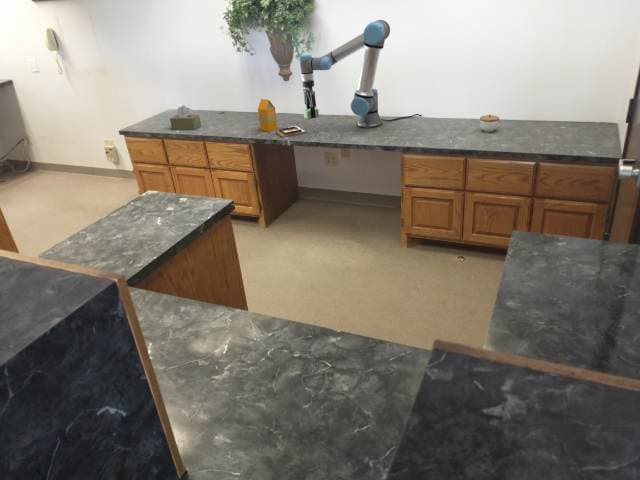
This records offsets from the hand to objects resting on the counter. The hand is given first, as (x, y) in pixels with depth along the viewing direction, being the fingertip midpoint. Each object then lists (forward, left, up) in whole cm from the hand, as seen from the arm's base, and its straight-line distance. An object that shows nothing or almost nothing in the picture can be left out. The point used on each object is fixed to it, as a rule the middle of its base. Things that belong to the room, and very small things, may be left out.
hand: (311, 116), depth 331 cm
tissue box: (+71, -63, -8) cm, 95 cm away
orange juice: (+24, -18, -8) cm, 31 cm away
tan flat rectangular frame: (+15, -1, -8) cm, 17 cm away
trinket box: (-83, +73, -8) cm, 111 cm away
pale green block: (0, 0, 0) cm, 0 cm away
